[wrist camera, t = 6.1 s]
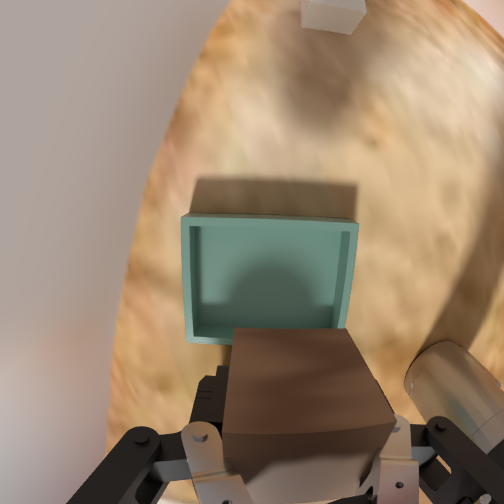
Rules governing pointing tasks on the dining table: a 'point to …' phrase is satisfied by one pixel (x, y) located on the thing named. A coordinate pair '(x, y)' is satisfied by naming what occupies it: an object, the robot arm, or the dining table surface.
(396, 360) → the dining table surface
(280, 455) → the walnut block
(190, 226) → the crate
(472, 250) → the dining table surface
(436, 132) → the dining table surface
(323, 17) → the cream box
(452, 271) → the dining table surface
